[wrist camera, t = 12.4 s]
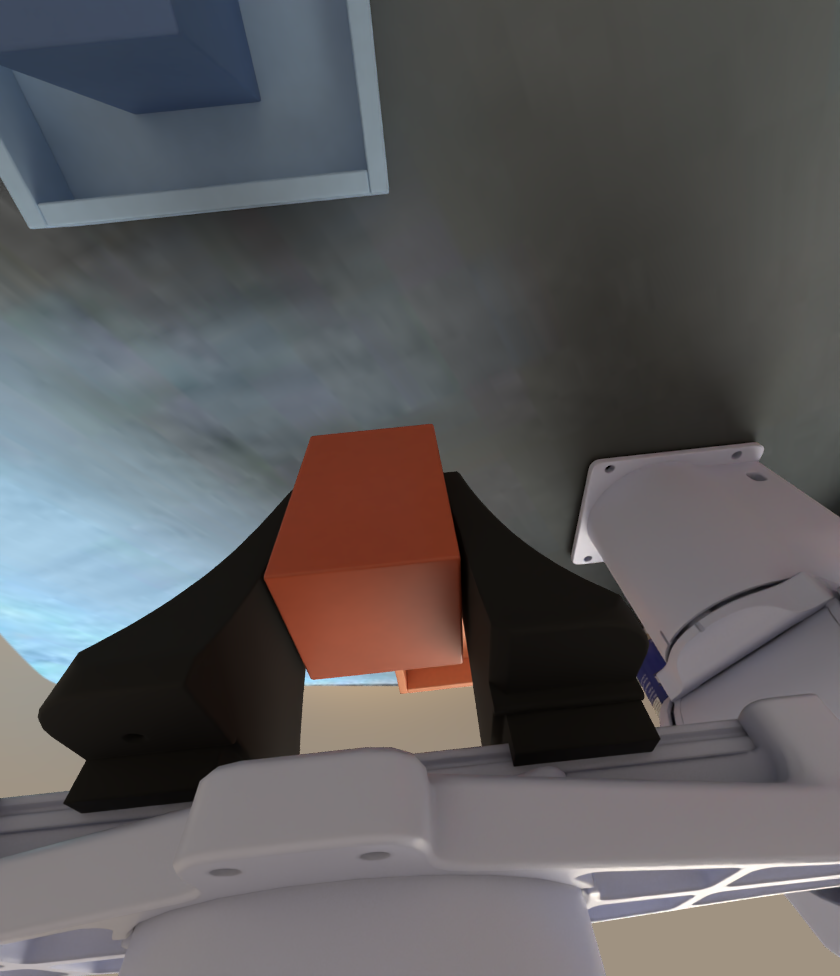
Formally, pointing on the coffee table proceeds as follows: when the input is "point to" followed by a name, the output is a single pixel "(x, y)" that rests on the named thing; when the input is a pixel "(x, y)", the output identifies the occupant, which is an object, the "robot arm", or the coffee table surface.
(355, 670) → the terracotta block
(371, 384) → the coffee table surface
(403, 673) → the terracotta tray
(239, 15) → the blue block
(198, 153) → the blue tray
